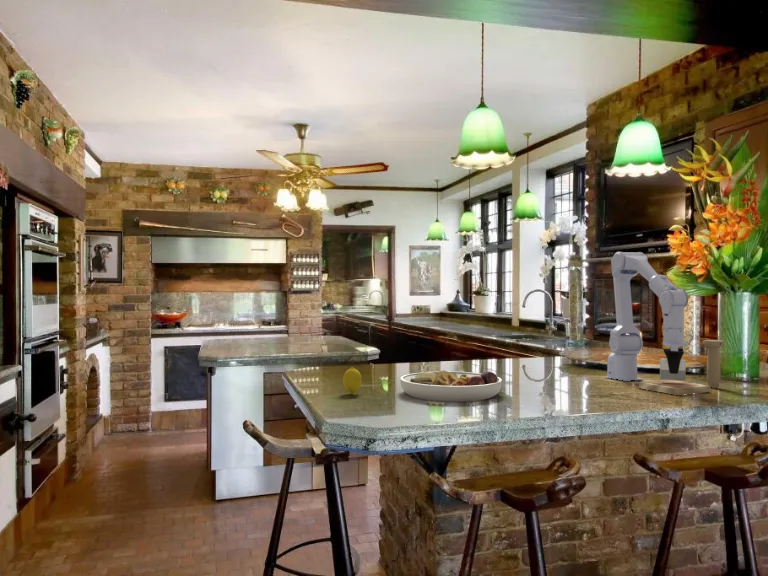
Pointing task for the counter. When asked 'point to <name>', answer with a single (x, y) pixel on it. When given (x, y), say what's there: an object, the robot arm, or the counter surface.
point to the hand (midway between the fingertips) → (673, 372)
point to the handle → (713, 362)
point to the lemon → (352, 380)
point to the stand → (674, 387)
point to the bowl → (451, 386)
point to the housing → (666, 373)
